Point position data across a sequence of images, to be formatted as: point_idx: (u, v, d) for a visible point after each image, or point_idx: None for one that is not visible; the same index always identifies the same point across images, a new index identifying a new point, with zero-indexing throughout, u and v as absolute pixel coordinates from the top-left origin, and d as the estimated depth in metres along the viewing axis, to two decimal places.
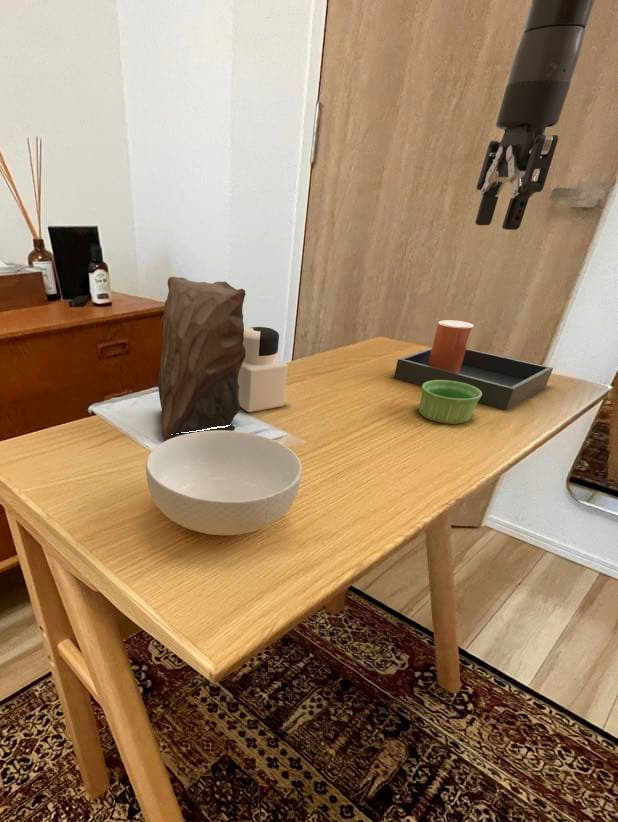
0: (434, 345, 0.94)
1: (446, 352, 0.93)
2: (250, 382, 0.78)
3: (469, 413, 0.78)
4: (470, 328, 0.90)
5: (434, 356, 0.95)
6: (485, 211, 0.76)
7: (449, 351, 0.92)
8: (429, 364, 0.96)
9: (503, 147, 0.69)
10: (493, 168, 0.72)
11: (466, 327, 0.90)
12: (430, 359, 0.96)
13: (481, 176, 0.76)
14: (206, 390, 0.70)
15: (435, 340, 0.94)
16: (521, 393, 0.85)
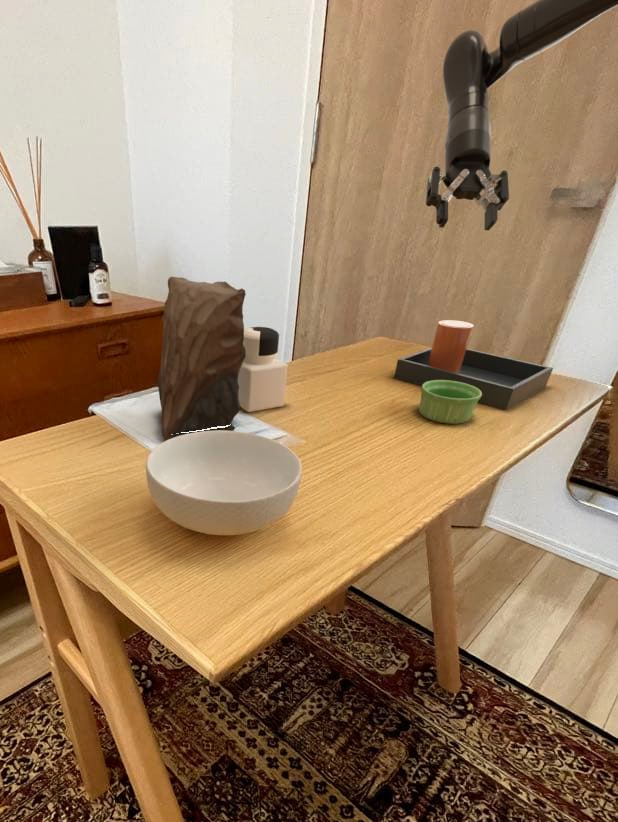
0: (434, 345, 0.94)
1: (446, 352, 0.93)
2: (250, 382, 0.78)
3: (469, 413, 0.78)
4: (470, 328, 0.90)
5: (434, 356, 0.95)
6: (486, 219, 0.91)
7: (449, 351, 0.92)
8: (429, 364, 0.96)
9: None
10: (474, 198, 0.93)
11: (466, 327, 0.90)
12: (430, 359, 0.96)
13: None
14: (206, 390, 0.70)
15: (435, 340, 0.94)
16: (521, 393, 0.85)
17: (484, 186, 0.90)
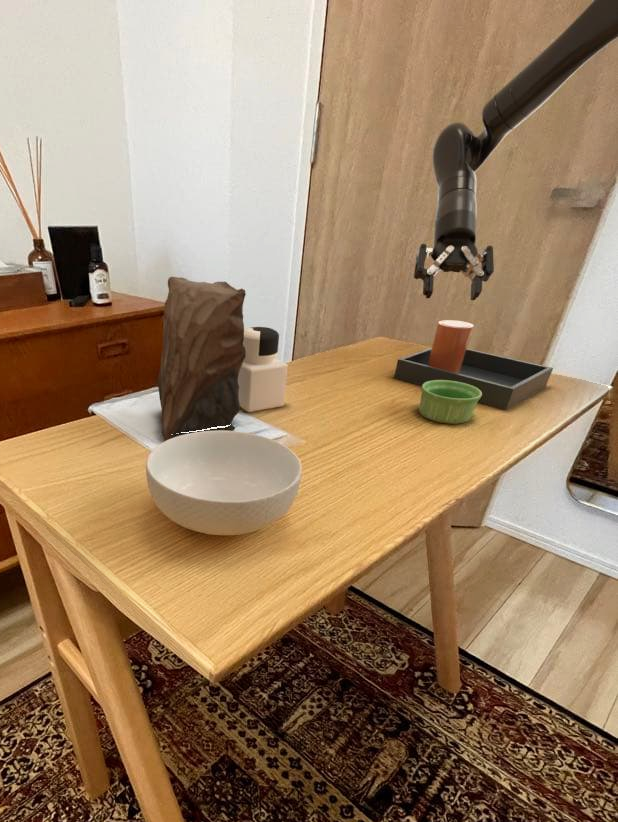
0: (434, 345, 0.94)
1: (446, 352, 0.93)
2: (250, 382, 0.78)
3: (469, 413, 0.78)
4: (470, 328, 0.90)
5: (434, 356, 0.95)
6: (472, 290, 0.96)
7: (449, 351, 0.92)
8: (429, 364, 0.96)
9: None
10: (462, 270, 0.98)
11: (466, 327, 0.90)
12: (430, 359, 0.96)
13: None
14: (206, 390, 0.70)
15: (435, 340, 0.94)
16: (521, 393, 0.85)
17: (469, 261, 0.95)
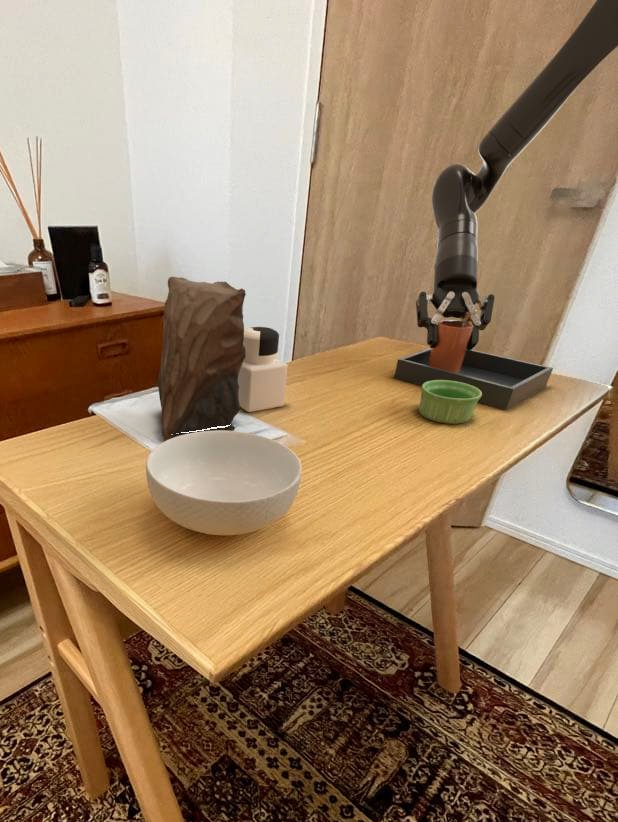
0: None
1: (446, 352, 0.93)
2: (250, 382, 0.78)
3: (469, 413, 0.78)
4: (470, 328, 0.90)
5: (434, 356, 0.95)
6: None
7: (449, 351, 0.92)
8: (429, 364, 0.96)
9: None
10: None
11: (466, 327, 0.90)
12: (430, 359, 0.96)
13: None
14: (206, 390, 0.70)
15: None
16: (521, 393, 0.85)
17: (468, 308, 0.92)
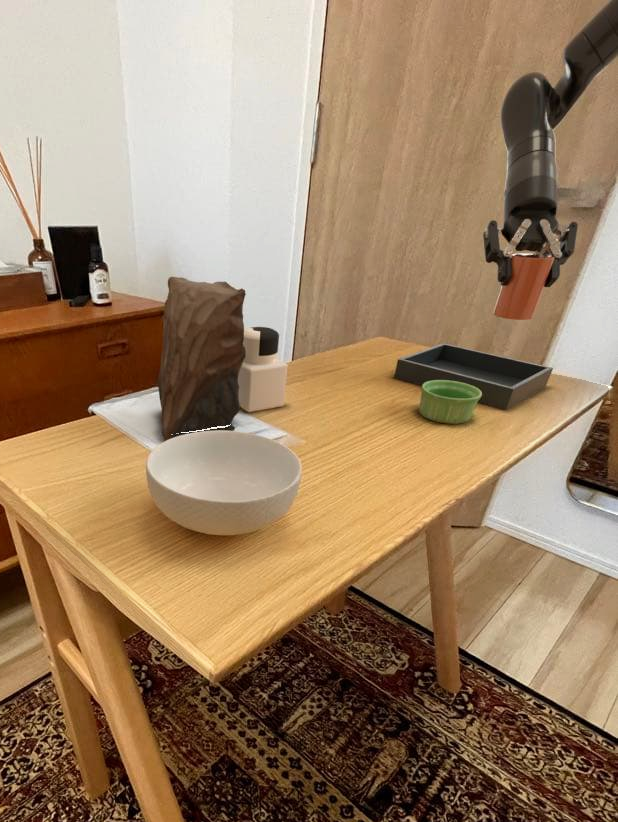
0: None
1: (521, 289, 0.80)
2: (250, 382, 0.78)
3: (469, 413, 0.78)
4: (551, 259, 0.78)
5: (506, 296, 0.82)
6: None
7: (525, 287, 0.80)
8: (498, 306, 0.84)
9: None
10: None
11: (547, 258, 0.77)
12: (500, 300, 0.83)
13: None
14: (206, 390, 0.70)
15: None
16: (521, 393, 0.85)
17: (547, 238, 0.79)
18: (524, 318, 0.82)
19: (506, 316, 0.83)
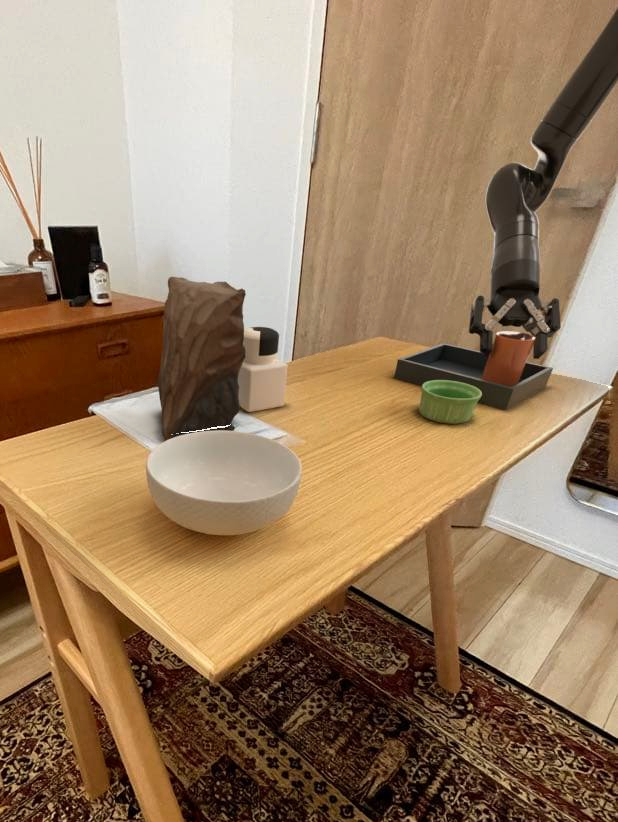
0: (491, 358, 0.88)
1: (504, 365, 0.86)
2: (250, 382, 0.78)
3: (469, 413, 0.78)
4: (532, 340, 0.84)
5: (491, 370, 0.88)
6: (535, 347, 0.86)
7: (508, 364, 0.86)
8: (484, 378, 0.90)
9: None
10: None
11: (528, 339, 0.84)
12: (485, 373, 0.89)
13: None
14: (206, 390, 0.70)
15: (492, 353, 0.87)
16: (521, 393, 0.85)
17: (533, 316, 0.85)
18: None
19: None
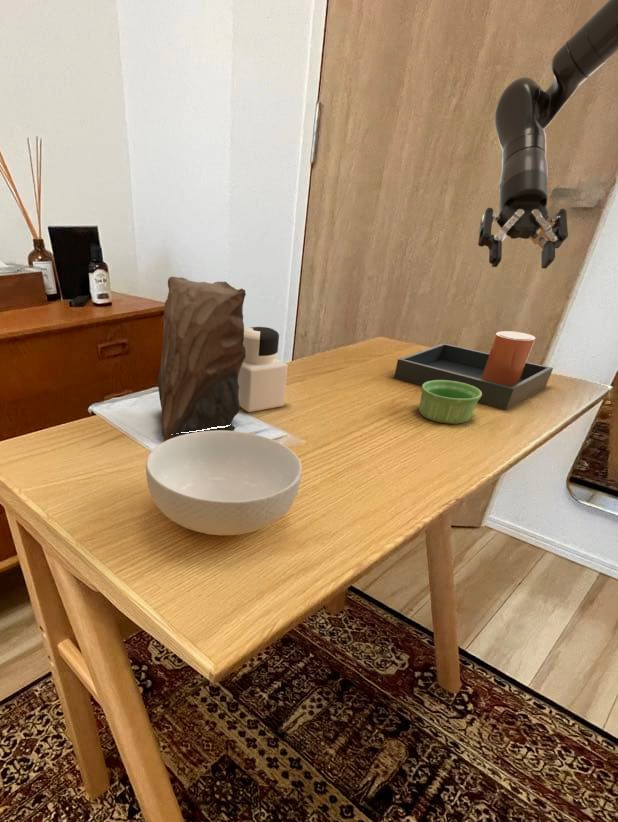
0: (491, 358, 0.88)
1: (504, 365, 0.86)
2: (250, 382, 0.78)
3: (469, 413, 0.78)
4: (532, 340, 0.84)
5: (491, 370, 0.88)
6: (543, 257, 0.89)
7: (508, 364, 0.86)
8: (484, 378, 0.90)
9: None
10: (530, 237, 0.91)
11: (528, 339, 0.84)
12: (485, 373, 0.89)
13: None
14: (206, 390, 0.70)
15: (492, 353, 0.87)
16: (521, 393, 0.85)
17: (541, 225, 0.88)
18: None
19: None
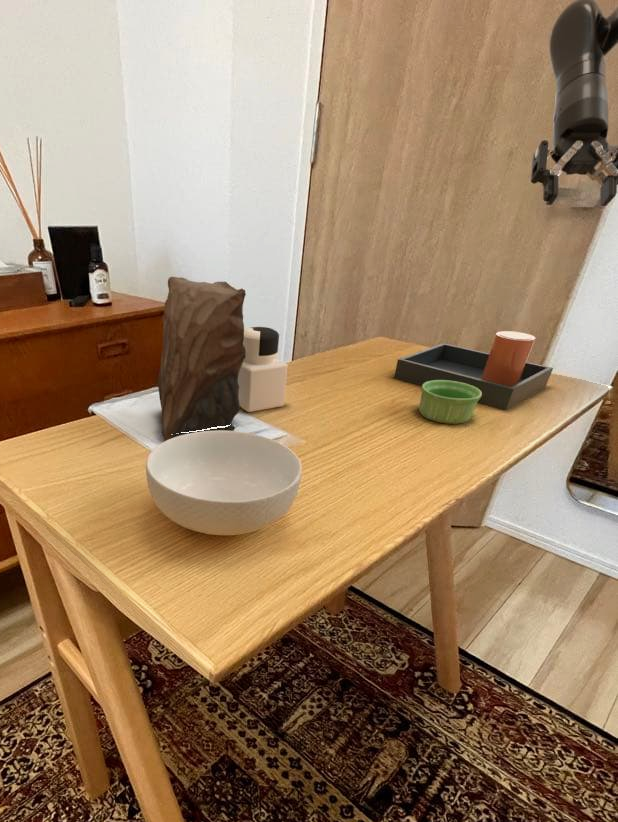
0: (491, 358, 0.88)
1: (504, 365, 0.86)
2: (250, 382, 0.78)
3: (469, 413, 0.78)
4: (532, 340, 0.84)
5: (491, 370, 0.88)
6: (603, 193, 0.82)
7: (508, 364, 0.86)
8: (484, 378, 0.90)
9: None
10: (587, 173, 0.84)
11: (528, 339, 0.84)
12: (485, 373, 0.89)
13: None
14: (206, 390, 0.70)
15: (492, 353, 0.87)
16: (521, 393, 0.85)
17: (601, 158, 0.81)
18: None
19: None
